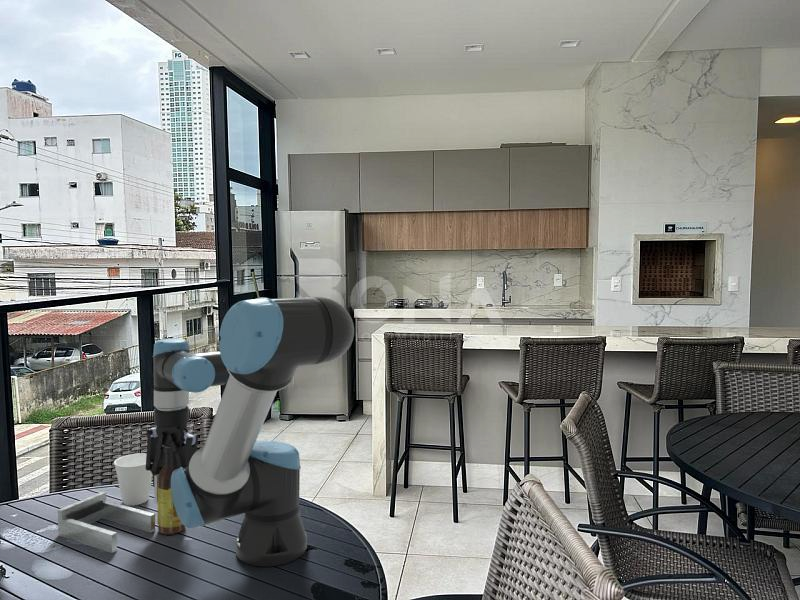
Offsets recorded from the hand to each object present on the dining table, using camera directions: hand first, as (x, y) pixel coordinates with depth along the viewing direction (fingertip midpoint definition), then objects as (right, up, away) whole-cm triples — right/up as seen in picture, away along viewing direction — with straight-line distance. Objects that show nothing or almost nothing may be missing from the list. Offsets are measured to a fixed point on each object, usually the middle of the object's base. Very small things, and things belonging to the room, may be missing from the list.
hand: (172, 504), depth 132 cm
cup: (-15, -5, +15) cm, 22 cm away
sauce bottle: (0, -6, 0) cm, 6 cm away
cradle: (-13, -6, -2) cm, 15 cm away
